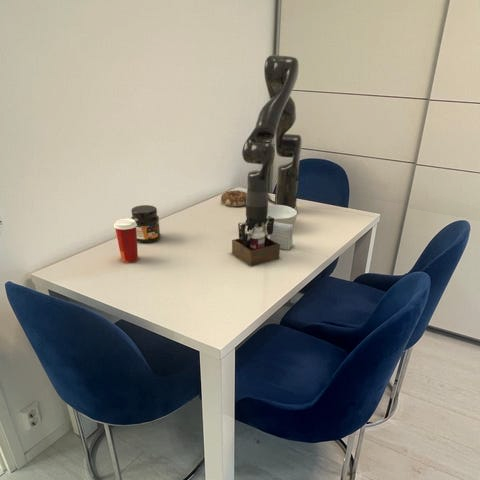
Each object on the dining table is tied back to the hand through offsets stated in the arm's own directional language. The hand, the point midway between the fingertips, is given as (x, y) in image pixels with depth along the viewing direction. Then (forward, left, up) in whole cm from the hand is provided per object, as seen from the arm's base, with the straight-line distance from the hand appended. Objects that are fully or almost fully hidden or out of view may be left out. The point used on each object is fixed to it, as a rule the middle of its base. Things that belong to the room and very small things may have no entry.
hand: (255, 247), depth 165 cm
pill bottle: (0, 0, -3) cm, 3 cm away
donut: (-56, +27, -3) cm, 62 cm away
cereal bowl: (-20, +24, -3) cm, 31 cm away
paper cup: (-21, -40, -3) cm, 45 cm away
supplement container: (-36, -27, -3) cm, 45 cm away
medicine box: (-2, +13, -3) cm, 14 cm away
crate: (0, 0, -3) cm, 3 cm away
